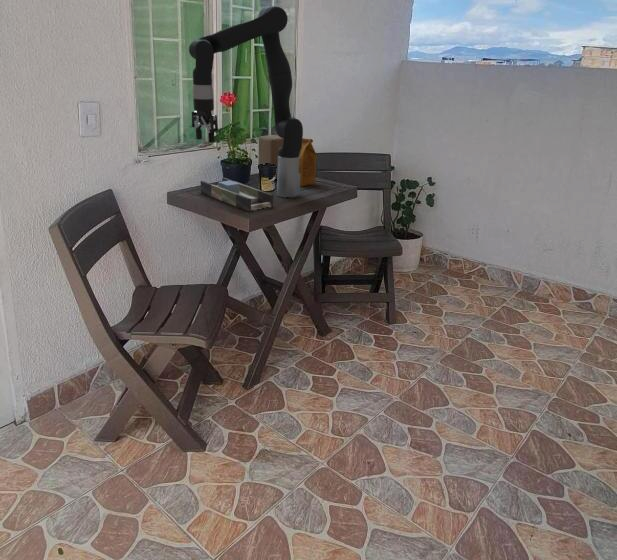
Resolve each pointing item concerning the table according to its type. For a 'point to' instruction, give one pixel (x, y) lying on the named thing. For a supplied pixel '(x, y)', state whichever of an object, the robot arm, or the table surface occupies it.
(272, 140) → the block
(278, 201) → the table surface
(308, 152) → the coffee package
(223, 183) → the slate block
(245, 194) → the trap lane
